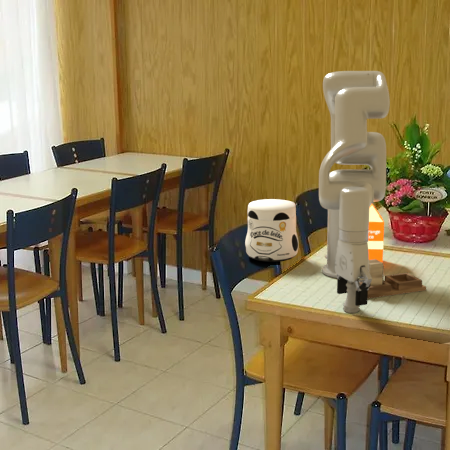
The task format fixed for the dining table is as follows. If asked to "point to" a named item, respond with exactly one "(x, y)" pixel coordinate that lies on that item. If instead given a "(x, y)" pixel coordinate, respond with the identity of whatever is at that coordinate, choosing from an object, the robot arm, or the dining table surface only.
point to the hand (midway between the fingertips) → (351, 298)
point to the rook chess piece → (351, 298)
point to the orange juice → (375, 234)
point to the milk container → (271, 230)
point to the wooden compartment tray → (391, 282)
